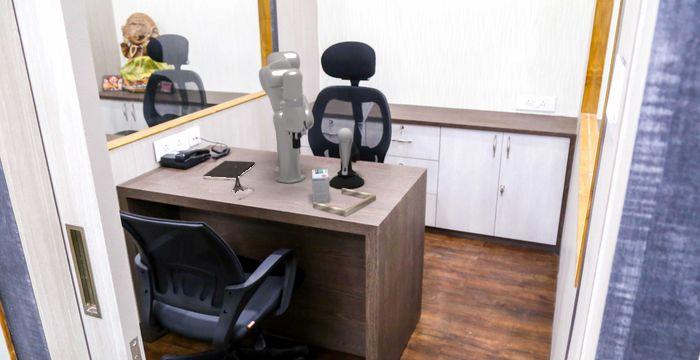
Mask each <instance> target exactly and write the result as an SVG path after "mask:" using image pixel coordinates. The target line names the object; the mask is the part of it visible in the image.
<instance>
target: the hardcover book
mask: <svg viewBox="0 0 700 360" xmlns="http://www.w3.org/2000/svg"><path fill="white" fill-rule="evenodd" d="M254 164H255V165H256V163H255V161H241V160H224V161H222V162H221V163H219V164H218V165H216V166H215V167H213V168H211V170H209V171H208V172H206V173H205V174H203V177H204V176H211V177H226V178H236V169H235V166H236V167H237V173H238V176H240V175H241V174H242V173H243V172H245V171H246V170H248V169H249V168H250V167H252V166H253V165H254ZM252 168H253V167H252ZM248 171H249V170H248Z"/></svg>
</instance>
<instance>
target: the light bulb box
mask: <svg viewBox="0 0 700 360" xmlns="http://www.w3.org/2000/svg"><path fill="white" fill-rule="evenodd" d="M329 181H330V179H329V170H328V169H327V168H323V169H322V168H321V169H312V170H311V191H312V204H313V203H314V202H317V203H321V204H325V203H330V185H329Z"/></svg>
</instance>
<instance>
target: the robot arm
mask: <svg viewBox="0 0 700 360" xmlns="http://www.w3.org/2000/svg"><path fill="white" fill-rule="evenodd" d="M266 64H267V65H264V66H262V67H261V68H260V69H259V70H258V79H259V83H260V86H261V88H262V90H263V91H264V93H265V94H266V95H267V97H268V99H269V102H270V105H271V108H272V109H271V110H273V116H272V123H273V126H274V132H275V136H276V137H275V138H276V145H277V158H278V166H276V167H275V169H274V170H273V172H274V173H277V176H276V177H275V178H276V179H275V180H276V181H277V182H279V183H281V182H282V184H283V183H284V184H295V183H299V182H301V181H303V180H304V179H305V174H303V173H302V172H301V171H302V170H301V158H300V157H301V156H300V148H301V147H302V144H301V141H302V140H301V139H302V137H303V136H305V135H306V136H307V135H308V132H307V131H308V130H310V129H311V128H312V127H313V126H314V123H315V119H314V115H313V112H312V109H311V106H310V103H309V101H308V99H307V97H306V96H305V95H304V94H303V93H304V91H303V73H302V72H301V70H300V69H301V58H300V56H299V54H298V52H296V51H293V50H292V51H291V50H288V51H275V52H272V53H270V54H269V55H268V56H267V58H266Z"/></svg>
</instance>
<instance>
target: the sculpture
mask: <svg viewBox="0 0 700 360" xmlns="http://www.w3.org/2000/svg"><path fill="white" fill-rule="evenodd" d="M337 137H338V138H337V139H338V141H339V142H338V148H339V149H338V151H339V153H338V154H339V157H340V158H339V159H340V170H338V171H337V175H335V176H333V177H332V178H331V179H329V187H331V188H333V189H336V190H341V189H342V188H346V189H350V190H357V189H359V188H362V187H363V186H364V185H365V180H364V179H363V178H362V177H361V175H358V174H356V173H357V172H356V170H354V169H353V164H356V163H357V162H360V158H361V157H360V154H361V153H360V149H359V148H357V144H356V143H355V142H354V141H353V132H352V130H351V129H350V128H348V127H342V128H341V129H339V130H338V131H337Z"/></svg>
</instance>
